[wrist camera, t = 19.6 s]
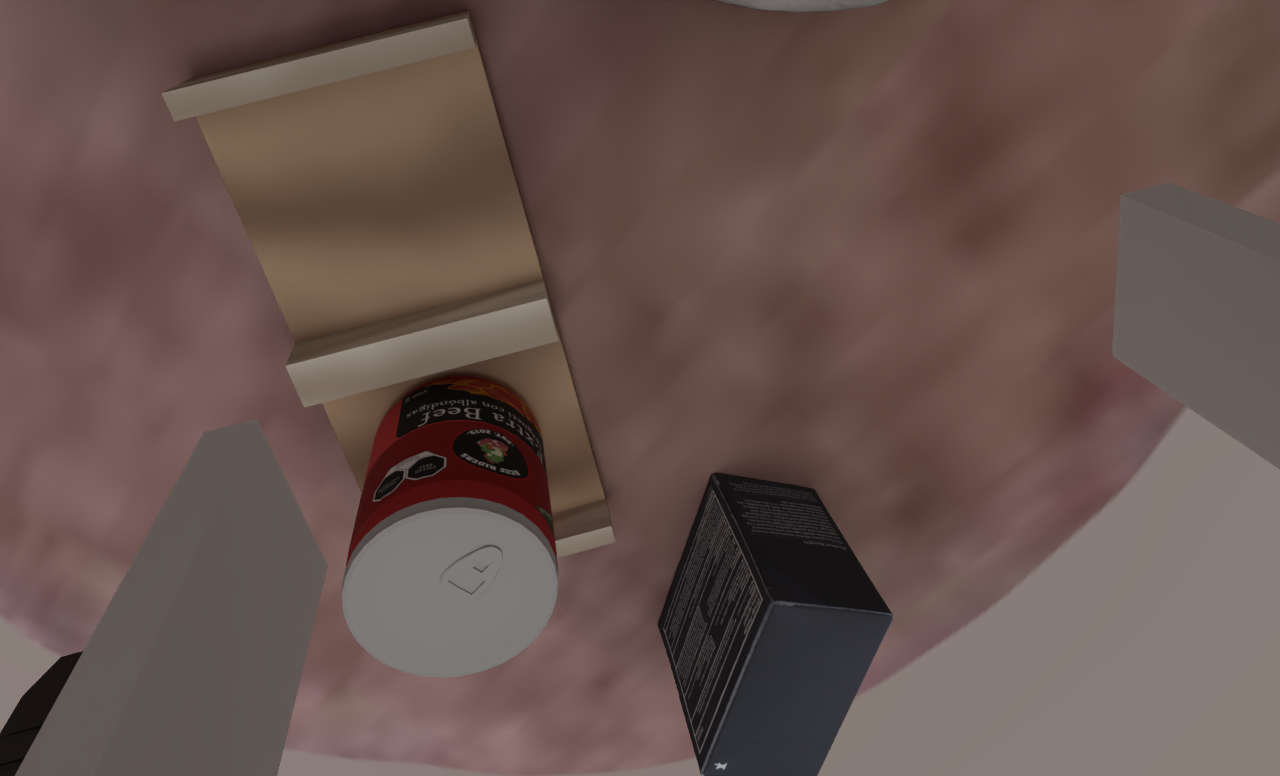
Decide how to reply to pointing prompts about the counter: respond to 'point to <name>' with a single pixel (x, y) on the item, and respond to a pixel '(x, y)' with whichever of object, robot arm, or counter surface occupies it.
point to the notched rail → (397, 238)
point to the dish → (804, 4)
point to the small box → (768, 629)
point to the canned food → (452, 532)
